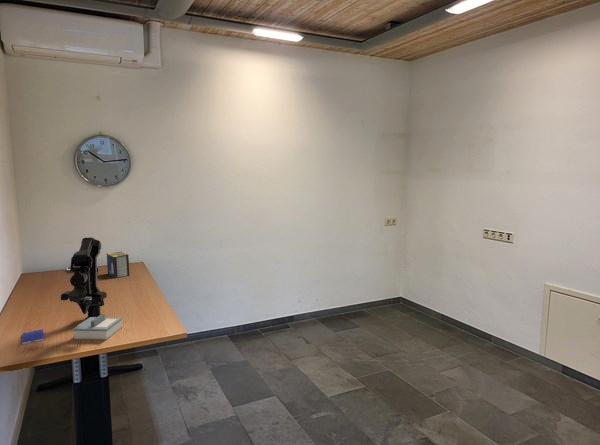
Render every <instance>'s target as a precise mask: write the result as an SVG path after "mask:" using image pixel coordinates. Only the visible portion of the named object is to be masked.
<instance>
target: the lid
mask: <svg viewBox="0 0 600 445" xmlns="http://www.w3.org/2000/svg"><path fill="white" fill-rule="evenodd" d="M120 320H121V321H122V320H123V318H122V317H106V316H105V314H101V315H100V316H98V317H90V318H88V319H85V320H83V321H82V322H80V323H79V324H78V325H76V326H75V327H73V328H72V331H74V330H90V331H107V330H108V329H110V328H111V327H112V326H114V325H115V324H116V323H118V322H119V321H120Z"/></svg>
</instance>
